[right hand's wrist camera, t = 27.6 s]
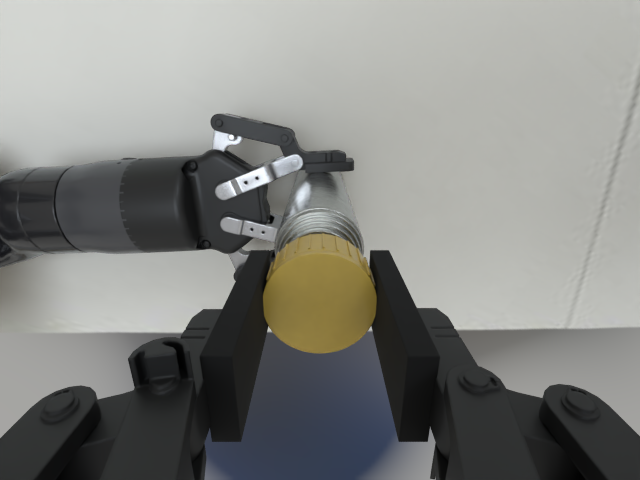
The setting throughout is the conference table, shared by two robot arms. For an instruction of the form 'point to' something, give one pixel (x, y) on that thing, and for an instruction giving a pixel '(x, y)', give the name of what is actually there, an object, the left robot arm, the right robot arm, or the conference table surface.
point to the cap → (319, 294)
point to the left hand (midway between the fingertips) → (352, 196)
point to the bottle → (319, 210)
